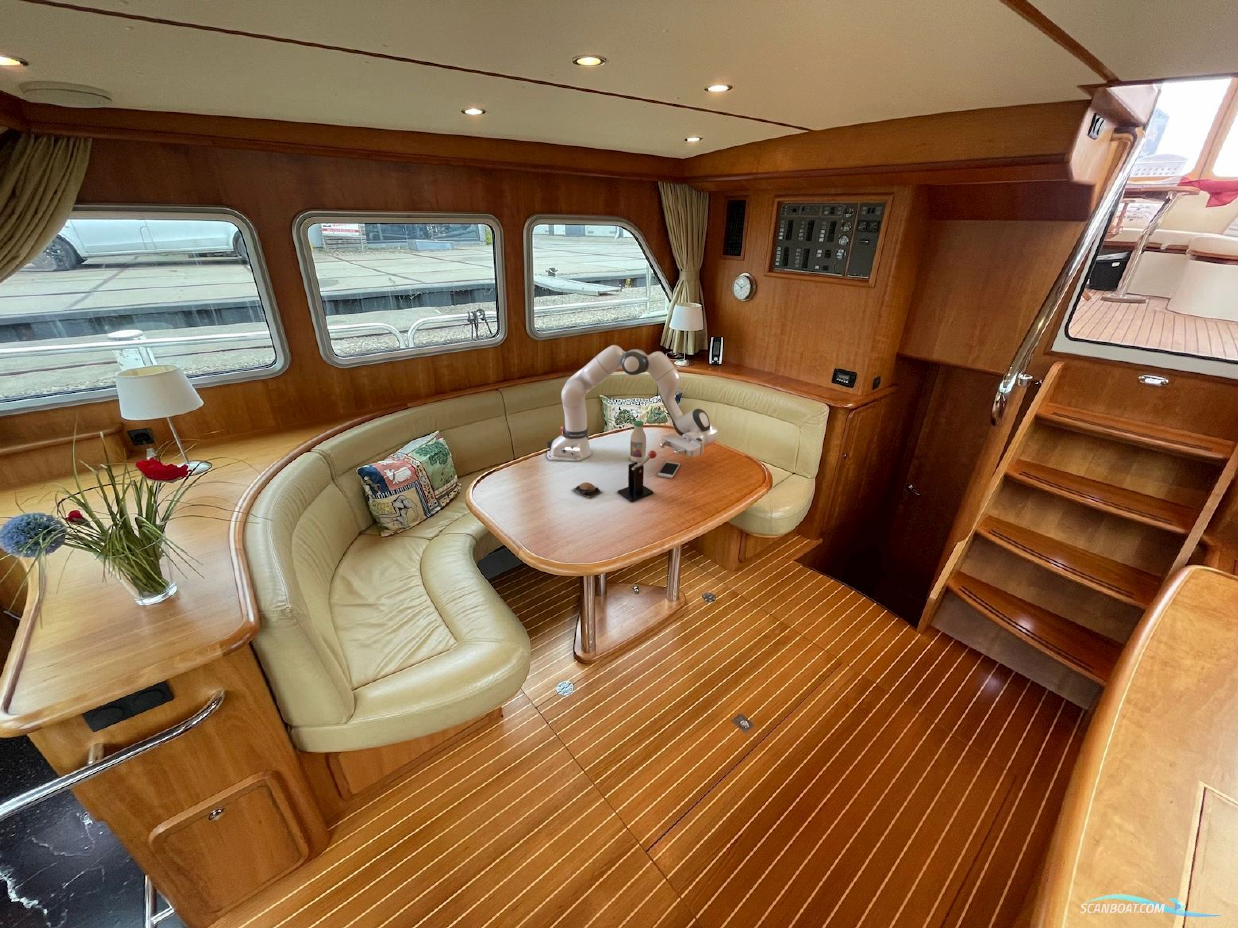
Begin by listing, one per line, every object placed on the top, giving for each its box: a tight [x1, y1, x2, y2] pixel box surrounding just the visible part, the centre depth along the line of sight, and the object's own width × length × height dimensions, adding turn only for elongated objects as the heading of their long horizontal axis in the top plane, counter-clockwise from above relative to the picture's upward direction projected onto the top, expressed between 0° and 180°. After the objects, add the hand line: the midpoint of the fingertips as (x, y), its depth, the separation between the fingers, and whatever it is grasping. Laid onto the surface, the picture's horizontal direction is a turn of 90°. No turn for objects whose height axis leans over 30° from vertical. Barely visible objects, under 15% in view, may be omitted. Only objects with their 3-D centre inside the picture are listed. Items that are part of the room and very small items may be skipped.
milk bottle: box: [629, 420, 647, 463], centre depth 236 cm, size 8×8×20 cm
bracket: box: [617, 461, 654, 503], centre depth 206 cm, size 12×10×14 cm
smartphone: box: [657, 461, 681, 479], centre depth 229 cm, size 7×15×1 cm, turn 159°
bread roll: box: [572, 482, 602, 499], centre depth 210 cm, size 11×8×4 cm
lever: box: [631, 449, 657, 472], centre depth 206 cm, size 13×4×4 cm, turn 125°
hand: (667, 449), depth 212 cm, fingers open, 8 cm apart
